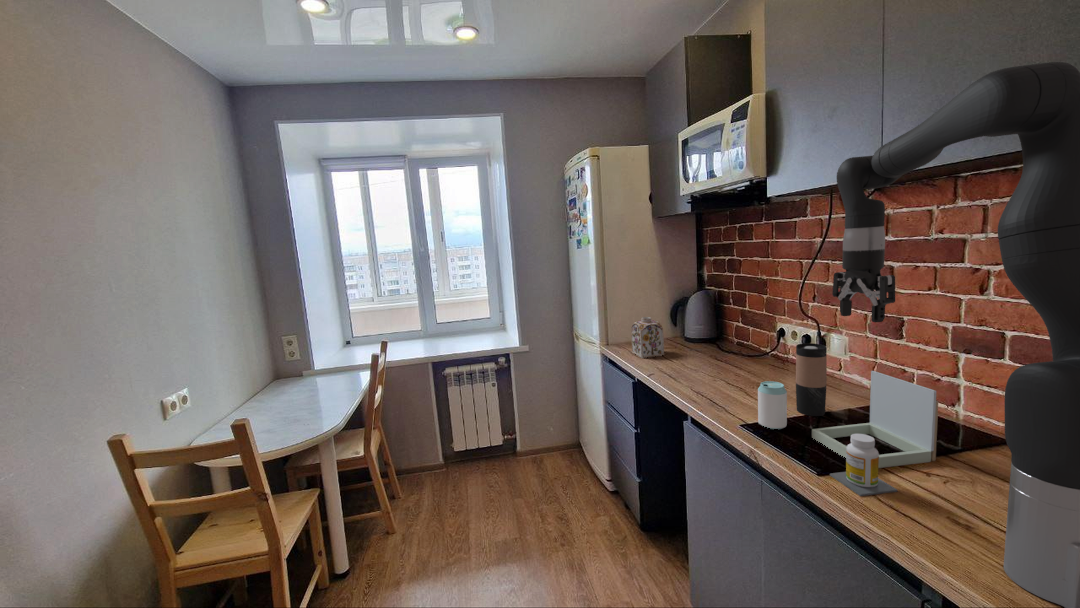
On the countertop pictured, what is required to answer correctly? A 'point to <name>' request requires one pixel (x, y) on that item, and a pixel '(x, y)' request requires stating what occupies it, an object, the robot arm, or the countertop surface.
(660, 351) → the decorative jar
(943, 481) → the countertop surface
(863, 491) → the slate coaster
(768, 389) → the can
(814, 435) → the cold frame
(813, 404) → the travel mug
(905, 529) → the countertop surface
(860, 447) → the supplement bottle
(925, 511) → the countertop surface
